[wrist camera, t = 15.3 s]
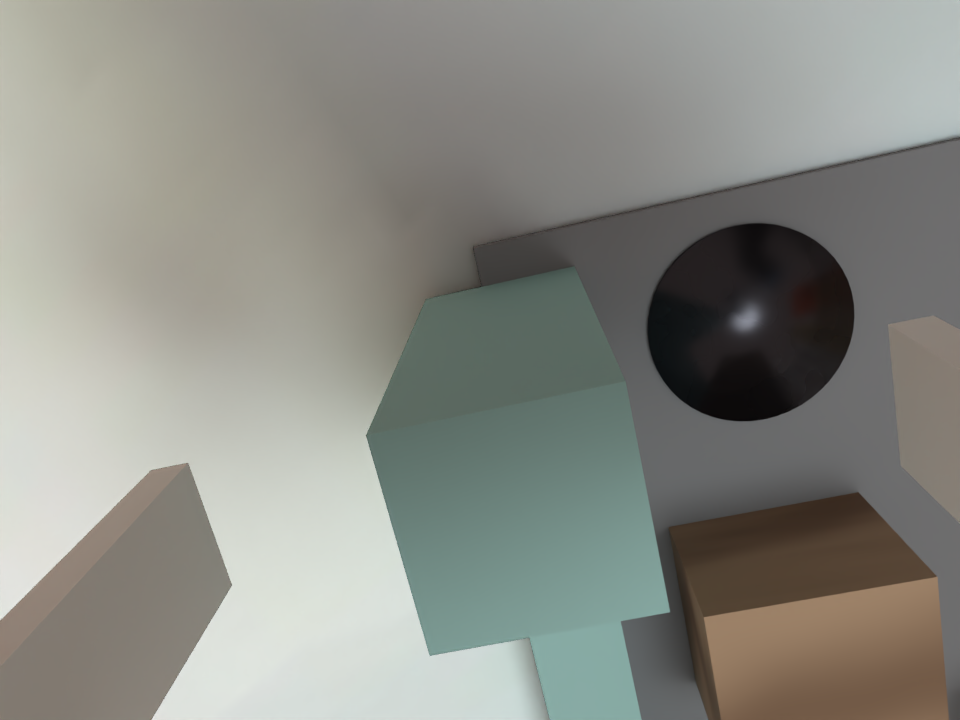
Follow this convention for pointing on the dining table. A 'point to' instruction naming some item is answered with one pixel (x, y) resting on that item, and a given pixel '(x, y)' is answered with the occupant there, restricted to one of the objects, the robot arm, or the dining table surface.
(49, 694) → the robot arm
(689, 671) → the runner mat
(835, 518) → the walnut block
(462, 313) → the crook
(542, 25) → the dining table surface
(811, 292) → the black round disc
